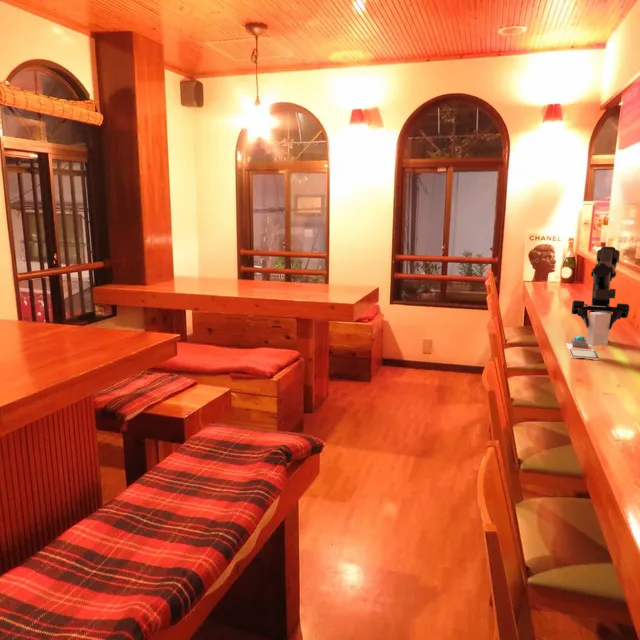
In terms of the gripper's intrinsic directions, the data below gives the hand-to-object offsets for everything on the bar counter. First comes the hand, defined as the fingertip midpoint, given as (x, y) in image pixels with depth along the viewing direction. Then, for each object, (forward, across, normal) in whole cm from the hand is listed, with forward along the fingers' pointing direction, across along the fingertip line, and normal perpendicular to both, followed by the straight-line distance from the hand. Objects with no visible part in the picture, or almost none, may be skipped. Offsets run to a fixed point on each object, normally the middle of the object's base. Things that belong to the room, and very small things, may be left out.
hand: (598, 328), depth 198 cm
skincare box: (+4, 0, +6) cm, 7 cm away
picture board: (+4, -4, +12) cm, 14 cm away
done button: (-3, -5, +16) cm, 17 cm away
